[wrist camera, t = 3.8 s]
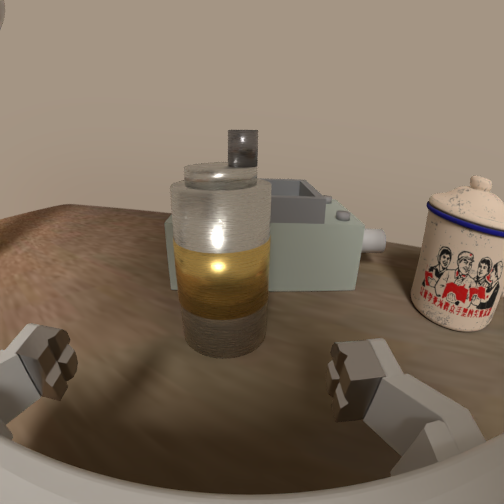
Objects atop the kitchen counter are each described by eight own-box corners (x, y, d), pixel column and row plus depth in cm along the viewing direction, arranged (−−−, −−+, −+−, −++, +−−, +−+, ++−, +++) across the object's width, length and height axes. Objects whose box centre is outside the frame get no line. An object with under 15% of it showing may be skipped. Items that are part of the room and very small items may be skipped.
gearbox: (171, 289, 25) (162, 197, 22) (189, 249, 34) (185, 179, 30) (393, 288, 26) (409, 204, 22) (362, 251, 34) (370, 184, 31)
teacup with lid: (399, 318, 21) (429, 168, 17) (413, 275, 28) (432, 163, 24) (522, 353, 15) (572, 211, 10) (509, 302, 22) (539, 193, 17)
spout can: (176, 356, 18) (154, 133, 13) (190, 307, 23) (180, 131, 18) (268, 359, 18) (278, 130, 13) (264, 308, 23) (269, 130, 18)
